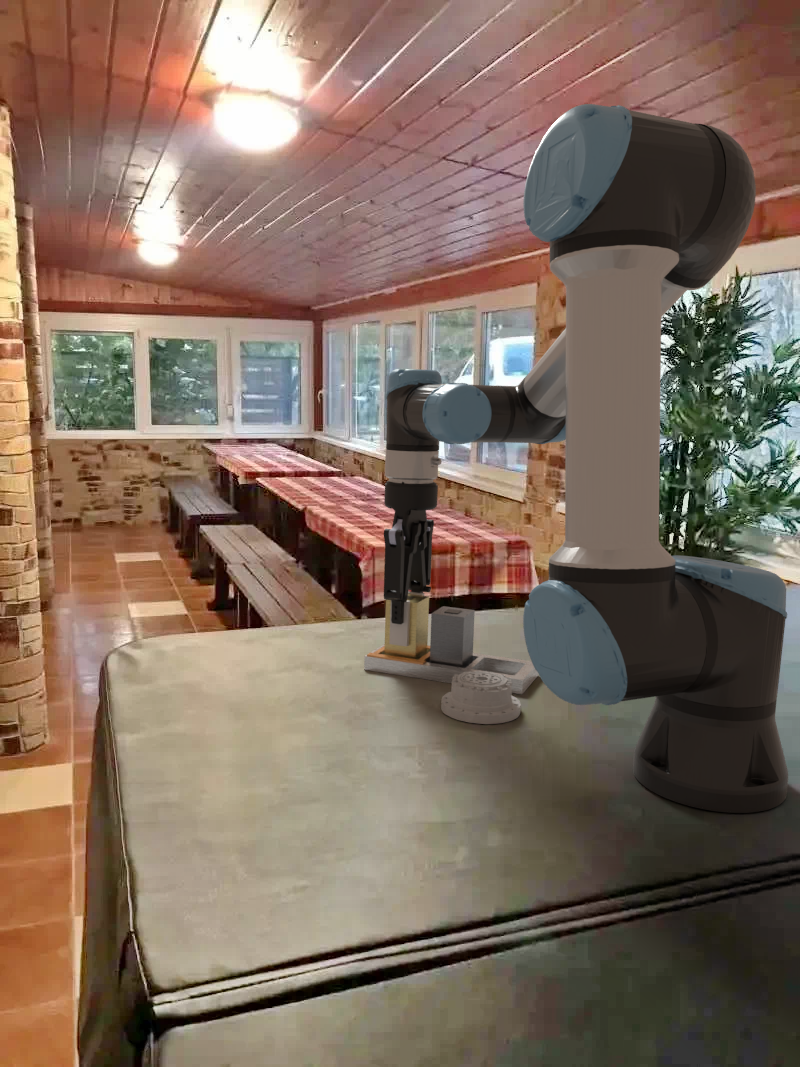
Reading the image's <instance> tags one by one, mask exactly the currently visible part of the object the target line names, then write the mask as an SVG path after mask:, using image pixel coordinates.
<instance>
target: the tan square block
mask: <svg viewBox="0 0 800 1067" xmlns="http://www.w3.org/2000/svg"><path fill="white" fill-rule="evenodd" d="M407 600H408V601H410V626H409V646H407V647H406V646H399V645H392V644H389V641H390V606H391V600H385V616H384V618H385V619H384V621H385V622H384V644H385V648H384V655H390V656H397V657H404V658H410V659H417V660H418V659H420V658H421V657H423V656H424V655H425V654H427V645H428V640H429V612H430V611H429V609H430V596H428V595H424V596H421V595H413V594H408V599H407Z"/></svg>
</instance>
